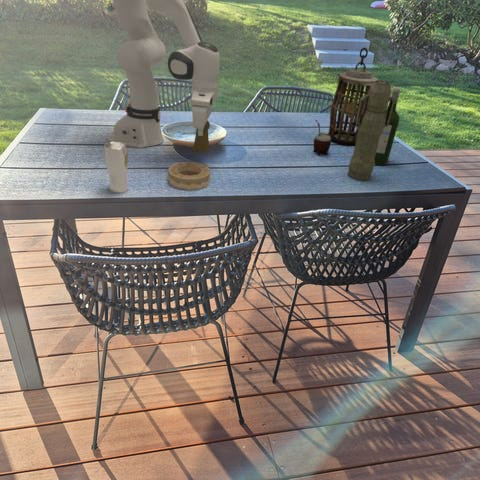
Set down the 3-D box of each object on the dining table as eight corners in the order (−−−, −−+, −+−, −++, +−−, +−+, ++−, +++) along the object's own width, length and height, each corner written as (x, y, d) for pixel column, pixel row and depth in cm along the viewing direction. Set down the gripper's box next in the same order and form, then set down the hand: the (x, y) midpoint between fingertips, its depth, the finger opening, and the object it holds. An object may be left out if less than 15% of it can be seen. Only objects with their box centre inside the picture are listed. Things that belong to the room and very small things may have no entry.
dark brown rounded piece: (206, 153, 157) (208, 124, 151) (190, 150, 158) (192, 121, 152) (211, 148, 162) (213, 119, 156) (196, 145, 163) (197, 116, 157)
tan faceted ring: (164, 187, 145) (164, 176, 143) (174, 170, 157) (173, 160, 155) (205, 191, 144) (206, 181, 142) (212, 175, 156) (212, 164, 154)
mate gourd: (330, 152, 185) (337, 118, 177) (325, 158, 179) (332, 122, 171) (313, 148, 187) (319, 114, 179) (308, 154, 181) (314, 119, 173)
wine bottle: (387, 160, 182) (407, 88, 166) (386, 167, 175) (407, 92, 159) (368, 157, 184) (386, 84, 167) (366, 163, 177) (385, 89, 161)
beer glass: (109, 183, 144) (105, 140, 136) (131, 184, 145) (128, 141, 137) (106, 193, 138) (101, 149, 130) (128, 194, 139) (125, 150, 131)
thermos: (340, 171, 168) (360, 78, 149) (368, 171, 170) (391, 79, 151) (348, 181, 161) (371, 84, 142) (377, 181, 163) (403, 86, 144)
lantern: (319, 142, 195) (337, 46, 174) (328, 130, 211) (346, 41, 189) (362, 150, 190) (386, 53, 168) (368, 138, 205) (390, 47, 184)
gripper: (200, 85, 158) (198, 122, 166) (189, 100, 141) (188, 141, 148) (217, 88, 158) (214, 124, 165) (209, 103, 141) (206, 143, 148)
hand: (201, 132), depth 157 cm, fingers closed on dark brown rounded piece, 4 cm apart
